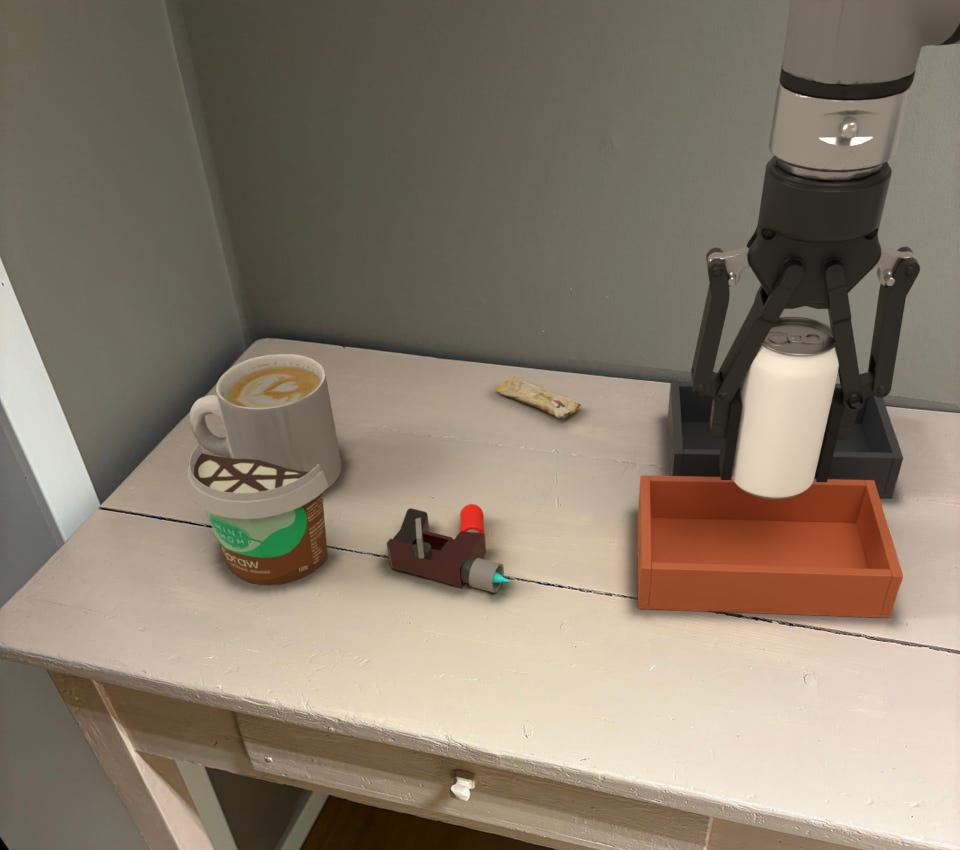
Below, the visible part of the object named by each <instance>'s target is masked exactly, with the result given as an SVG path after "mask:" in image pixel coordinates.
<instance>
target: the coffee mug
mask: <svg viewBox="0 0 960 850" xmlns="http://www.w3.org/2000/svg"><path fill="white" fill-rule="evenodd" d="M326 375H327V374H326V371H325V369H324V367H323V366H322V364H320V363H319V362H318V361H316V360H314V359H313V358H310V357H308V356H305V355H301V354H296V353H295V354H294V353H274V354H265V355H262V356H256V357H253V358H249V359H246V360H244V361H242V362H240V363H237V364H235V365H233V366H232V367H230V368H229V369H227V370H226V371H225V372H224V373H223V374H222V375H221V376H220V377H219V379H218V380H217V382H216V384H215V387H216V388H215V392H216V394H212V395H211V394H209V395H205V396H202V397H200V398H197V400H196V401H194V403H193V405H192V406H191V408H190V411H189V424H190V427H191V431H192V433H193V436H194V437H195V439H196V441H197V443H198V444H199V443H200V446H201V448H203V449H204V450H206V451H208V452H210V453H212V454H215V455H217V456H218V455H219V456H221V457H224V458H233V459H255V460H261V461H265V462H268V463H272V464H275V465H278V466H281V467H284V468H288V469H293V470H298V471H305V472H310V471H311V470H312V469H313V468H314V467H315V466H316V465H317V464H319V467H320V471H323V472H324V475H325V478H326V480H327V483H328V485H329V486H328V487H327V488H326V489H325V491H326V490H327V489H329V488H330V487H332V486H333V485H334V484H335V483H336V481H338V479H339V478H340V475H341V473H342V469H343V465H342V458H341V454H340V453H341V452H340V448H339V441H338V436H337V430H336V425H335V420H334V419H335V418H334V415H333V407H332V402H331V398H330V391H329V385H328V380H327V376H326ZM207 415H215V416H216V417H217V418H218V419H219V420H220V422H221V424H222V426H223V429H224V431H225V437H220V436H216V435H215V434H214V433H212V432H211V430H210V429H209V427H208V426H207V422H206V416H207Z"/></svg>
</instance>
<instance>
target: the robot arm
mask: <svg viewBox="0 0 960 850" xmlns="http://www.w3.org/2000/svg"><path fill="white" fill-rule="evenodd" d="M787 14H788V15H787V23H786V29H785V39H784V46H783V55H782V62H781V68H780V73H779V79H778V85H777V89H776V90H777V91H776V97H775V103H774V110H773V116H772V123H771V128H770V136H769V142H768V149H769V151H770V153H771V154H772V155H773V156H772V157H771V158H770V159H769V160H768V162H767V163H766V165H765V170H764V177H763V184H762V185H763V186H762V191H761V198H760V205H759V213H758V220H757V225H756V228H755V230H754V232H753V234H752V235H751V237H750V238H749V239H748V241H747V243H746V246H742V247H738V248H735V249H731V250H727V251H724V250H723V249H722V248H721V247H712V248H710V249H709V250H708V251H707V253H706V256H705V260H706V268H707V269H706V270H707V275H708V283H709V284H708V289H707V293H706V298H705V302H704V308H703V312H702V316H701V321H700V326H699V332H698V336H697V341H696V344H695V345H696V346H695V350H694V355H693V359H692V363H691V364H692V365H691V368H690V369H691V370H690V375H691V376H690V377H691V382H692V390H693V392H694V394H696V395H699V396H701V395H704V394H705V395H708V396H710V397H712V398H713V402H712V411H711V418H710V427H711V434H712V437H713V438H722V441H721V449H720V456H719V466H720V475H721V480H731V476H732V470H733V463H734V457H735V450H736V444H737V437H738V431H739V424H740V418H741V411H742V401H741V397H740V387H739V386H740V384H741V383H742V381H743V379H744V377H745V375H746V373H747V372H748V370H749V368H750V366H751V364H752V362H753V361H754V359H755V357H756V355H757V353H758V351H759V349H760V348H761V346H762V345H761V343H763V342H764V340H765V338H766V337H767V335H768V333H769V331H770V329H771V327H772V326H773V324H775V323H776V322H777V321H778V319H779V318H780V317H782V315H783V312H784V310H794V309H799V308H803V307H808V308H812V309H815V310H827V315H828V319H829V326H831V330H832V335H833V339H834V342H835V343H836V344H837V345H836V351H837V356H838V361H839V369H838V374H837V375H838V379H839V380H838V381H839V384H840V385H841V388H840V391H839V388H834V393H833V397H832V402H831V406H830V411H829V415H828V420H827V424H826V429H825V433H824V438H823V442H822V447H821V451H820V456H819V460H818V464H817V469H816V473H815V477H816V481H817V482H827V480H828V475H829V471H830V467H831V462H832V458H833V454H834V450H835V445H836V441H837V440H848V439H849V437H850V436H851V435H852V431H853V427H854V422H855V419H856V415H857V411H858V410H860V409H861V408H862V407H863V406H864V399H866V398H868V397H872V396H876V397H878V398H882V397H883V398H885V397H887V396H888V395H890V394H891V391H892V387H893V381H894V374H895V367H896V362H897V361H896V360H897V356H898V348H899V342H900V337H901V330H902V324H903V318H904V311H905V307H906V306H905V305H906V300H907V295H908V294H909V293H910V291H911V289H912V287H913V285H914V283H915V282H916V280H917V278H918V276H919V274H920V271H921V266H920V264H919V262H918V259H917V257H916V256H915V253H914V252H913V250H912V249H911V247H909V246H902V247H899V248H898V249H897V250H896V249H892V248H889V247H885V246H882V245H881V243H880V240H879V239H880V238H879V230H880V227H881V221H882V217H883V214H884V209H885V205H886V200H887V196H888V191H889V187H890V182H891V177H892V173H893V171H892V167H891V166H890V164H889V161H890V160H891V159H893V158H894V157H895V156H896V153H897V150H898V146H899V142H900V137H901V133H902V127H903V123H904V119H905V114H906V109H907V104H908V100H909V95H910V90H911V87H912V84H913V82H914V79H915V75H916V68H917V66H918V61H919V58H920V55H921V50H922V48H923V47H926V46H950V45H960V0H789V5H788V13H787ZM749 267H750V269H751V271H752V272H753V274H754V276H755V278H756V279H757V281H758V282H759V284H760V285H759V287H758V290H757V292H756V293H755V296H754V301H753V303H752V306H751V307H750V309H749V310H748V311H749V312H748V313H747V315H746V317H745V319H744V321H743V323H742V324H741V326H740V328H739V331H738V333H737V335H736V336H735V338H734V341H733V342H732V344H731V346H730V348H729V350H728V352H727V354H726V356H725V358H724V360H723V361H722V364H721V365H720V368H719V369H718V371H717V372H716V371H714V369H715V366H716V361H717V356H718V353H719V348H720V344H721V338H722V336H723V330H724V326H725V321H726V318H727V312H728V309H729V303H730V293H731V292H730V291H731V290H730V288H731V287H734V286H735V285H737V284H738V283H739V281H740V279H741V274H742V272H743V270H745V269H746V268H749ZM875 267H876V268H877V270H876V276H877V279H878V282H879V289H878V295H877V302H876V303H877V304H876V309H875V316H874V317H875V318H874V324H873V325H874V326H873V332H872V339H871V345H870V346H871V347H870V353H869V358H868V359H869V360H868V366H867V367H868V368H867V371H866V372H863V373H860V369H859V362H858V356H857V355H858V354H857V350H856V343H855V336H854V329H853V323H852V313H851V312H852V311H851V306H850V305H851V304H850V299H849V293H850V292H851V291H852V290H853V289H854V288H855V287H856V286H857V285H858V284H859V283H860V282H861V281H862V280H863V279H864V278H865V277H866V276H867V275H868V274H869V273H870V272H871V271H872V270H873V269H874V268H875Z"/></svg>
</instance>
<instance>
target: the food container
mask: <svg viewBox="0 0 960 850" xmlns="http://www.w3.org/2000/svg"><path fill="white" fill-rule="evenodd" d="M202 448H203V447H202V446H201V445H200V443H199V442H198V443H197V445H196V446H195V447H194V448H193V449H192V452H191V454H190V457H189V460H188V466H187V485H188V487H187V488H188V493H189V495H190V497H191V499H192V501H193V502H194V503H195V504H196V505H197V506H198V507H199V508H201V509H202V510H204V511H205V513H206V516H207V518H208V521H209V523H210V525H211V528H212V530H213V532H214V535H215V537H216V540H217V542H218V545H219V547H220V549H221V552H222V554H223V556H224V557H223V558H224V560H225V561H226V564H227V566H228V569H229V570H230V571H231V572H232V573H233V574H234V575H235V577H237V578H238V579H240V580H242V581H245V582H246V583H250V584H254V585H259V586H274V585H275V586H276V585H282V584H288V583H291V582H296V581H298V580H300V579H302V578H304V577H306V576H308V575H310V574H312V573H313V572H316V570H318V569H319V568H320V567H321V566H322V565H324V563H325V562H326V561H327V560H328V558H329V555H328V544H327V543H328V542H327V533H326V521H325V510H324V509H325V508H324V499H323V497H324V496H323V493H324V492H325V491H326V490H327V489H328V488H327V487H328V486H329V485H328V483H327V480H326V478H325V475H324V472H323V471H320V467H319V464H317V465H316V466H315V467H314V468H313V469H312V470H311V471H310V472H305V471H298V470H293V469H288V468H284V467H281V466H278V465H275V464H272V463H268V462H265V461H261V460H255V459H233V458H228V457H225V456H218V455H214V454H213V455H212V454H206V453H204V450H203V449H202ZM326 488H327V489H326ZM325 489H326V490H325Z"/></svg>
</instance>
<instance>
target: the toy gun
mask: <svg viewBox="0 0 960 850" xmlns="http://www.w3.org/2000/svg"><path fill="white" fill-rule="evenodd" d="M484 519H485V517H484V512H483V509H482V508H481V506H479V505H477V504H475V503H468V504H466V505H464V506H463V507H462V508H461V510H460V512H459V528H460V529H459V532H458V533H457V535H456V537H454V538H453V537H452V536H449V535H444V534H441V533H436V532H433V531H430V523H429V515H428V513H427V512H426V511H423V510H420V509H417V508H411V507H410V508H407V510H406V512H405V515H404V518H403V520H402V523H401V526H400V529H399V530H398V532H397V533H396V534H395V535H394V537H393V538H389V540H387V542H386V549H387V554H388V562H389V564H390V566H391V568H392V569H393V570H395V571H396V570H397V571H400V572H405V573H408V574H412V575H415V576H419V577H422V578H427V579H430V580H435V581H437V582H439V583H444V584H446V585H447V584H448V585H451V586H455V587H459V588H462V587H463V586H464V585H465V583H466V584H469V586H470V587H472V588H475V589H479V590H483V591H486V592H490V593H497V592H498V591H499V589H500V587H501V585H502V583H508V582H511V581H510V580H509V579H507V578H506V577H504V573H505V567H504V564H503V563H500V562H496V561H493V560H488V559H484V558H483V557H484V556H485V554H486V552H487V549H486V533H485V521H484Z"/></svg>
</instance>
